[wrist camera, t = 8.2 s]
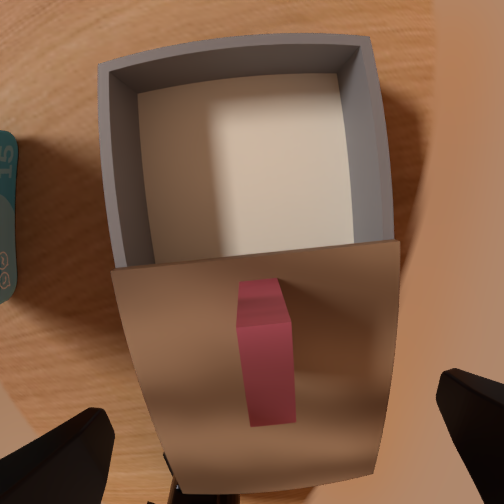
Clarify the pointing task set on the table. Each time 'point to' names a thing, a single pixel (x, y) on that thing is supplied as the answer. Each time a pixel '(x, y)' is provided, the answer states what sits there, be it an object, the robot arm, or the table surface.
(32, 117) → the table surface
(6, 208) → the data package
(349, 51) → the grey open box
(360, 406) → the lid
